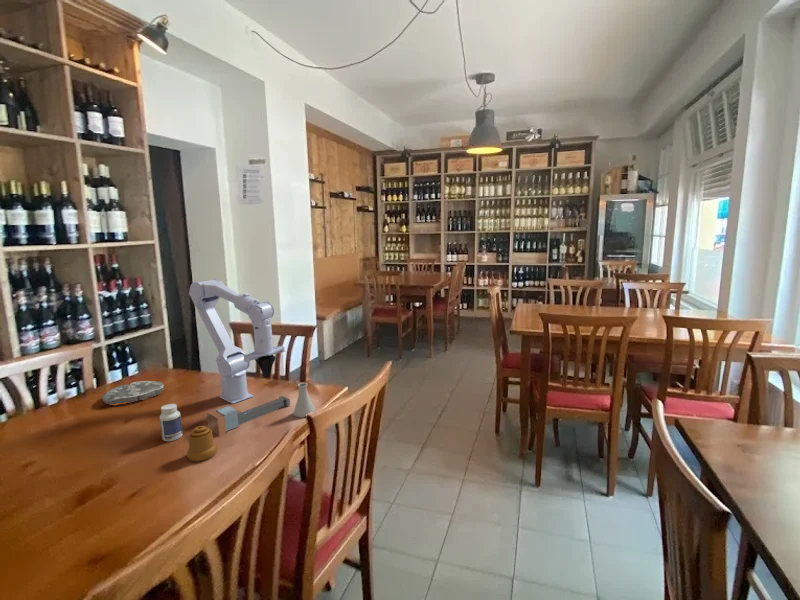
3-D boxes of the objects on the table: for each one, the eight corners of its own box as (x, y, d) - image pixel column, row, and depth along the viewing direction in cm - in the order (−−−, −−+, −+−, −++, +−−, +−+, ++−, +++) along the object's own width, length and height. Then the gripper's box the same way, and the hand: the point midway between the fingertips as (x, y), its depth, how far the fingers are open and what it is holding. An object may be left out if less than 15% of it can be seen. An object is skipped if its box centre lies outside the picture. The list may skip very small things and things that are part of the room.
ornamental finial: (220, 446, 118) (213, 461, 111) (192, 449, 117) (183, 464, 110) (217, 420, 117) (210, 432, 109) (189, 422, 115) (179, 435, 108)
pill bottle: (187, 434, 125) (183, 404, 124) (170, 443, 120) (166, 411, 119) (174, 431, 128) (170, 401, 126) (158, 439, 123) (154, 408, 121)
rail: (208, 429, 128) (206, 412, 128) (280, 401, 148) (279, 386, 147) (219, 436, 124) (217, 418, 123) (292, 406, 143) (291, 391, 142)
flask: (318, 408, 141) (316, 380, 139) (311, 418, 134) (310, 388, 132) (297, 408, 142) (295, 380, 140) (289, 418, 135) (287, 388, 133)
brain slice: (157, 384, 169) (156, 376, 168) (169, 395, 156) (168, 388, 156) (97, 398, 155) (96, 390, 155) (105, 412, 143) (104, 404, 143)
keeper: (217, 426, 130) (216, 410, 129) (230, 421, 133) (228, 405, 132) (226, 431, 126) (224, 414, 125) (238, 426, 129) (236, 410, 128)
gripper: (250, 345, 134) (253, 385, 136) (288, 335, 145) (291, 373, 147) (238, 341, 138) (242, 381, 141) (276, 332, 149) (279, 369, 152)
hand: (266, 376), depth 144 cm, fingers closed
